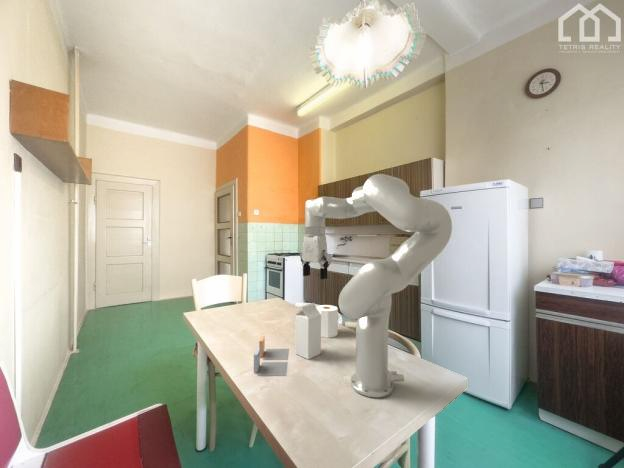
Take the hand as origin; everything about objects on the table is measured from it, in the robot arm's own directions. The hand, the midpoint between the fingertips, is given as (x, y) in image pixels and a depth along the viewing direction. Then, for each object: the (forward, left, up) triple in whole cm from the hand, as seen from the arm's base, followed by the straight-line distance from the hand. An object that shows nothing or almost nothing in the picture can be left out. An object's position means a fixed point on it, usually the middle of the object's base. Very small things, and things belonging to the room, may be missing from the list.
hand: (314, 277), depth 100 cm
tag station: (+14, +4, -30) cm, 33 cm away
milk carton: (+2, -1, -30) cm, 30 cm away
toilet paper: (-7, -22, -30) cm, 38 cm away
